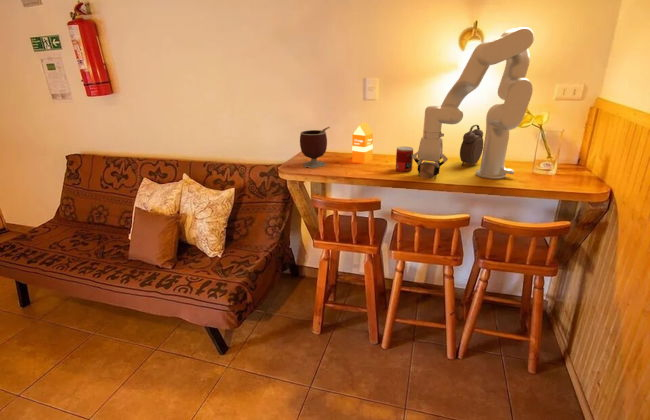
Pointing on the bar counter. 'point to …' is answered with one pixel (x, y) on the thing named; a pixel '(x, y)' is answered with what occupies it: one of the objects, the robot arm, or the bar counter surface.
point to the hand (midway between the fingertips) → (427, 173)
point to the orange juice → (362, 144)
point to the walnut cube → (427, 170)
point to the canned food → (404, 159)
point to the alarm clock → (472, 146)
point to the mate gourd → (313, 146)
